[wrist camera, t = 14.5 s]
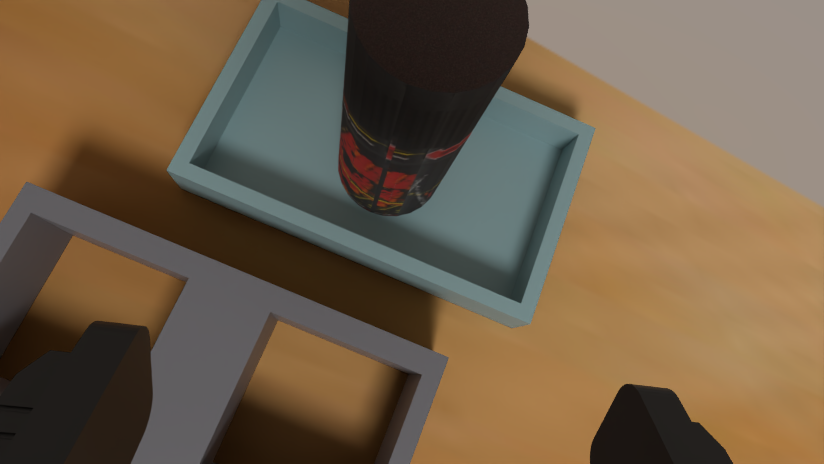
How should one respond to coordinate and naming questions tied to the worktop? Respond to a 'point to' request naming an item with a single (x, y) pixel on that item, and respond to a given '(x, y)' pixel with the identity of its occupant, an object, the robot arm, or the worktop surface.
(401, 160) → the deodorant
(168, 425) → the holder
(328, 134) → the tray
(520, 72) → the worktop surface
